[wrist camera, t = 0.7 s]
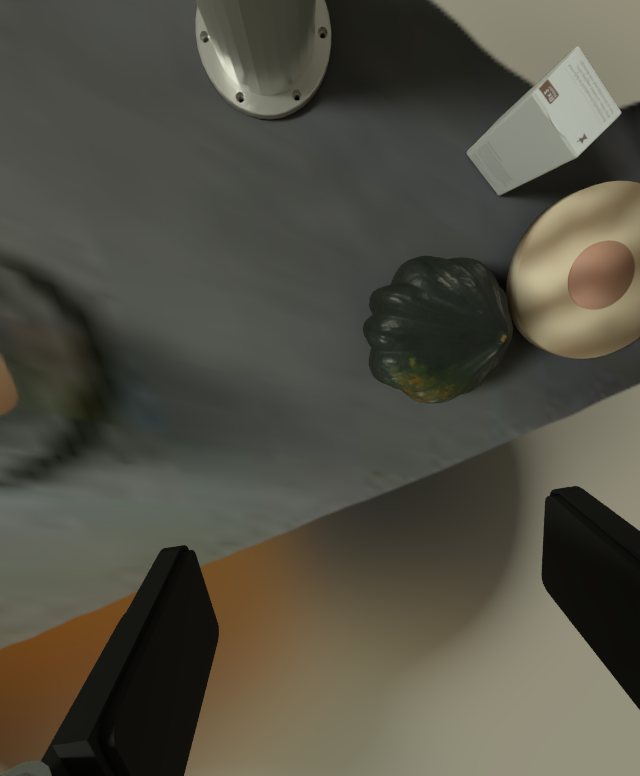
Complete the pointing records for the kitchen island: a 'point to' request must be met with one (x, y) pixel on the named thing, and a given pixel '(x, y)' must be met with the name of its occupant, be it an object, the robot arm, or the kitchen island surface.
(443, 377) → the squash
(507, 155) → the skincare box
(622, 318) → the turntable
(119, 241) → the kitchen island surface
